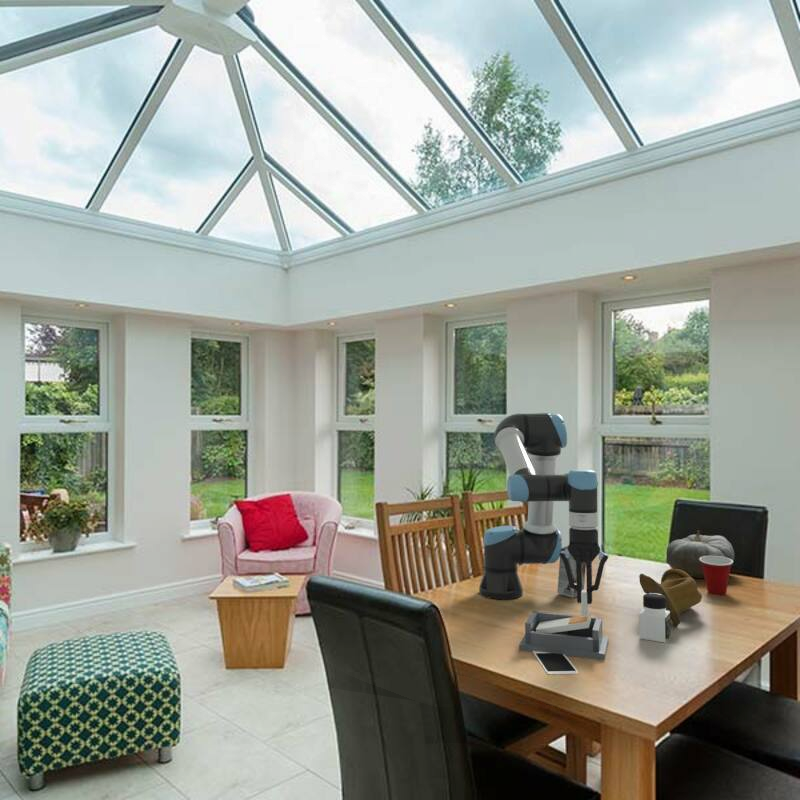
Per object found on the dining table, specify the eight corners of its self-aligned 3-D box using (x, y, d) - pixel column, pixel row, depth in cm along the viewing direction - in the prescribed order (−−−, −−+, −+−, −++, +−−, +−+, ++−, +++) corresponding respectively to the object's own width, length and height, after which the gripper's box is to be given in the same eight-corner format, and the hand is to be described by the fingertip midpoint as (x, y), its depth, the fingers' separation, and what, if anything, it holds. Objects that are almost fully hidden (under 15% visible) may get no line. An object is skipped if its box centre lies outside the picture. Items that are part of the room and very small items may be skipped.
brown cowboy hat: (602, 583, 212) (655, 558, 227) (621, 634, 209) (673, 606, 224) (661, 575, 193) (714, 548, 208) (683, 631, 190) (735, 600, 205)
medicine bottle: (666, 643, 183) (665, 599, 184) (639, 638, 187) (638, 595, 187) (670, 635, 189) (670, 593, 190) (644, 631, 193) (644, 590, 193)
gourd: (748, 567, 261) (739, 524, 261) (724, 589, 244) (714, 543, 244) (685, 564, 280) (677, 523, 279) (659, 584, 263) (650, 541, 262)
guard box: (519, 649, 179) (518, 623, 179) (528, 633, 192) (528, 609, 192) (604, 660, 171) (604, 632, 171) (608, 642, 184) (608, 617, 184)
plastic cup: (700, 595, 231) (699, 560, 231) (699, 588, 241) (698, 554, 241) (735, 598, 227) (734, 563, 227) (732, 590, 237) (732, 556, 237)
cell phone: (561, 652, 178) (561, 650, 178) (579, 675, 162) (579, 673, 162) (532, 653, 178) (532, 650, 178) (547, 676, 162) (547, 673, 162)
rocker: (536, 635, 181) (535, 628, 181) (541, 627, 187) (539, 621, 188) (588, 627, 176) (586, 621, 176) (591, 620, 183) (589, 613, 183)
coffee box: (567, 588, 240) (570, 543, 240) (584, 592, 236) (588, 547, 236) (556, 593, 233) (560, 548, 232) (573, 598, 229) (577, 552, 228)
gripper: (556, 528, 179) (558, 616, 179) (607, 530, 175) (609, 621, 174) (560, 524, 186) (562, 609, 186) (609, 526, 182) (611, 614, 181)
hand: (584, 615), depth 180 cm, fingers closed
